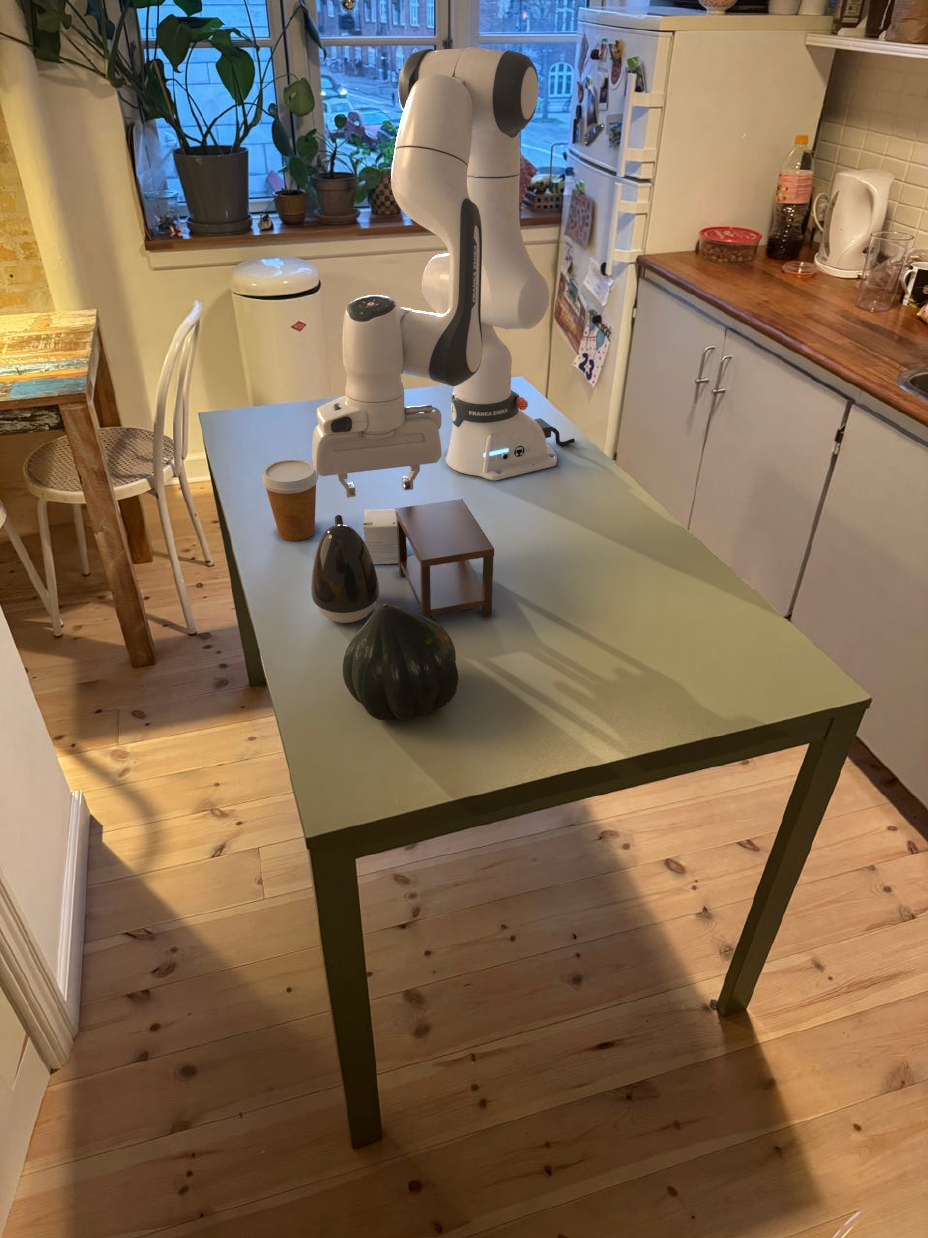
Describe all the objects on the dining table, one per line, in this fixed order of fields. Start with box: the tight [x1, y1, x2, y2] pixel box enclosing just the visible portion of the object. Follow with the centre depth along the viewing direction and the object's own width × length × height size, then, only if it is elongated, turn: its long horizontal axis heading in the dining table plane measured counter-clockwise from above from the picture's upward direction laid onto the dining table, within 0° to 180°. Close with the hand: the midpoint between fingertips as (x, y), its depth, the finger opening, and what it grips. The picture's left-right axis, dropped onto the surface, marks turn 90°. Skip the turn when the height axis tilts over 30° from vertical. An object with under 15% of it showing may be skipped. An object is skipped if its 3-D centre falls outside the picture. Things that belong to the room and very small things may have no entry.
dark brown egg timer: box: [310, 514, 381, 624], centre depth 131 cm, size 10×10×15 cm
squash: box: [342, 603, 459, 721], centre depth 116 cm, size 14×15×15 cm
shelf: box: [394, 498, 495, 620], centre depth 136 cm, size 11×16×12 cm
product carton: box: [362, 508, 399, 565], centre depth 147 cm, size 6×6×7 cm
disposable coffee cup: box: [261, 458, 319, 542], centre depth 152 cm, size 10×10×12 cm
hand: (379, 492), depth 142 cm, fingers open, 8 cm apart
